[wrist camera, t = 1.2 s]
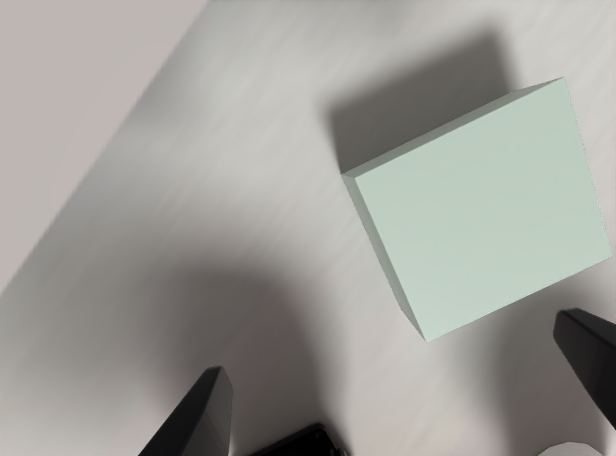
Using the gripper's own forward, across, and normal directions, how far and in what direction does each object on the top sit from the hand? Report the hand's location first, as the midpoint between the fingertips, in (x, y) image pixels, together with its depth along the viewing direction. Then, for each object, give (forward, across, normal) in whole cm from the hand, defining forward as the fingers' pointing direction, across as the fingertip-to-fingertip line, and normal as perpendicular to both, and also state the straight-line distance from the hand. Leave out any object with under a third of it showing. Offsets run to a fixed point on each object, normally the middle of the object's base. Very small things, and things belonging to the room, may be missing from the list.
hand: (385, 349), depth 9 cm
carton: (+11, -6, +2) cm, 13 cm away
